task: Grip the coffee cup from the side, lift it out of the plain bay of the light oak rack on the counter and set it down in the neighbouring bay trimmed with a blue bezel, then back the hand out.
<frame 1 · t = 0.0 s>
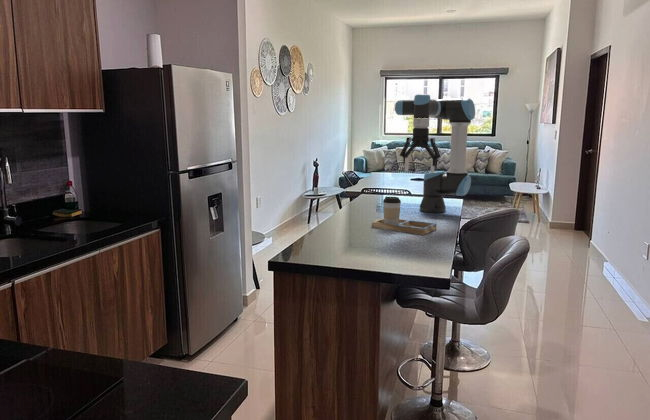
hand: (419, 171, 236), 28 cm above the countertop, tool pointing down, fingers open, 13 cm apart
coffee cup: (391, 226, 245), resting in oak rack
oak rack: (403, 228, 241), on the countertop
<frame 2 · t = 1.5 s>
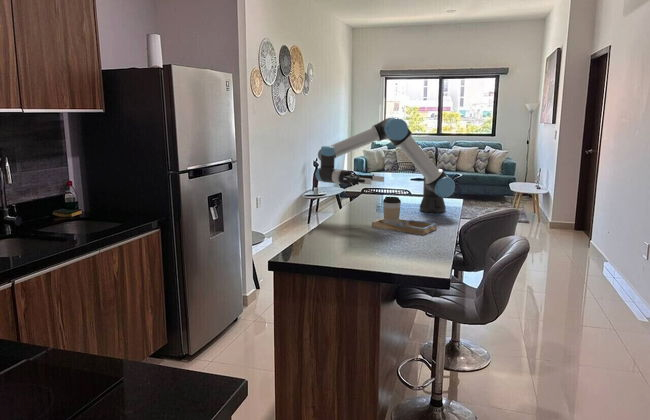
hand: (377, 180, 246), 23 cm above the countertop, tool horizontal, fingers open, 13 cm apart
nothing on the countertop moved.
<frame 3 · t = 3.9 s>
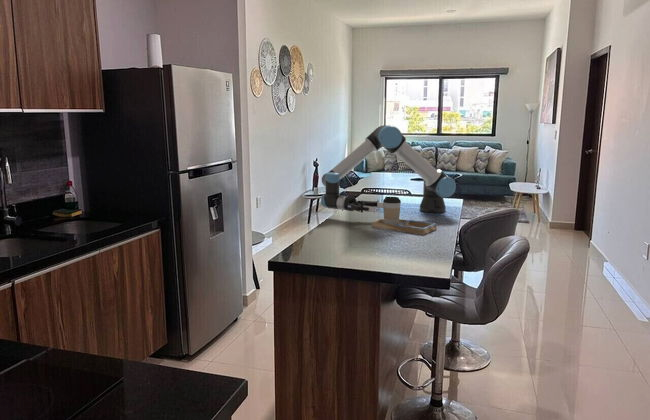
hand: (382, 207, 246), 9 cm above the countertop, tool horizontal, fingers open, 13 cm apart
nothing on the countertop moved.
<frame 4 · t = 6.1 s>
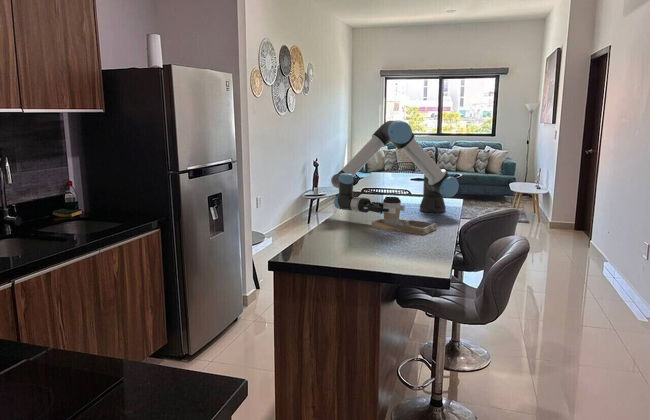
hand: (399, 209, 241), 9 cm above the countertop, tool horizontal, fingers closed on coffee cup, 9 cm apart
coffee cup: (391, 226, 245), resting in oak rack, touching gripper
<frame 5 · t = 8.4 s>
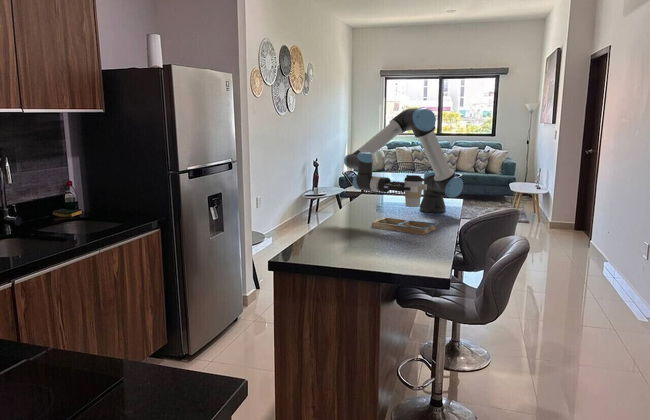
hand: (421, 188, 231), 21 cm above the countertop, tool horizontal, fingers closed on coffee cup, 9 cm apart
coffee cup: (412, 206, 236), point 12 cm above the countertop, touching gripper
when the fingers open (10 cm above the countertop, at t = 11.1 s): coffee cup drops 1 cm, resting on oak rack.
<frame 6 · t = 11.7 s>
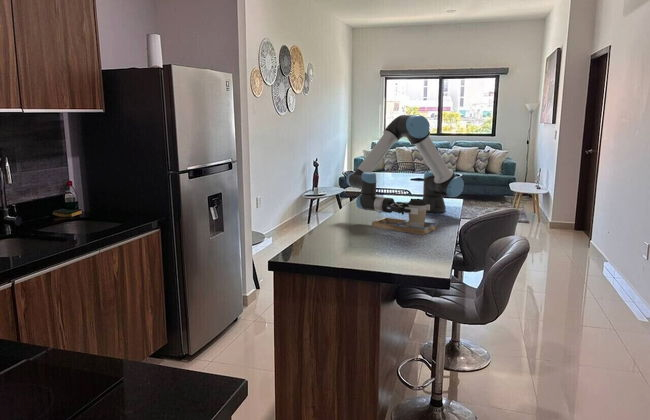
hand: (423, 209, 233), 10 cm above the countertop, tool horizontal, fingers open, 13 cm apart
coffee cup: (416, 229, 237), resting on oak rack
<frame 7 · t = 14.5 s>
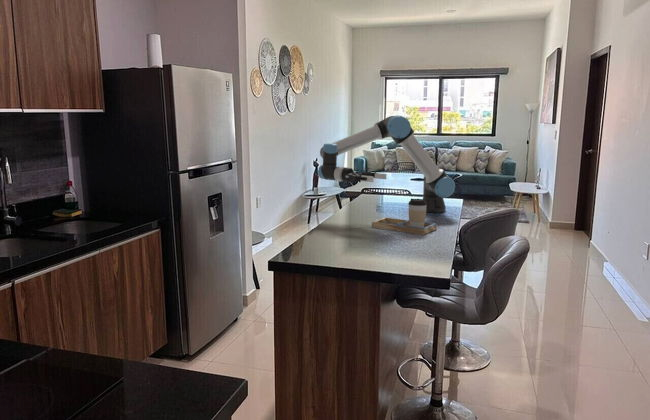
hand: (379, 178, 245), 24 cm above the countertop, tool horizontal, fingers open, 13 cm apart
nothing on the countertop moved.
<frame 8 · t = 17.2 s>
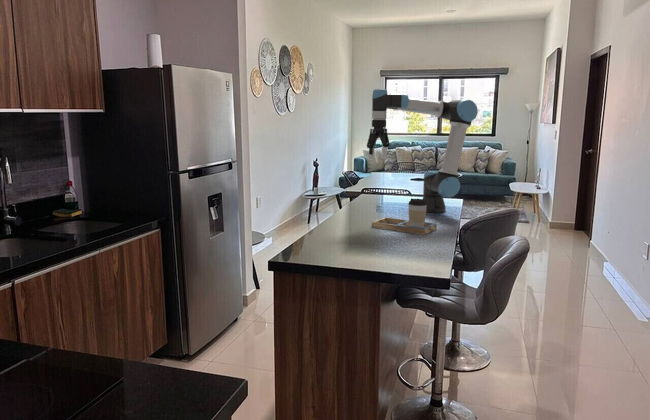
hand: (378, 160, 259), 32 cm above the countertop, tool pointing down, fingers open, 13 cm apart
nothing on the countertop moved.
at the end: coffee cup inside the target area (0.0 cm from its centre), resting on oak rack; coffee cup tilted 0°; the gripper is holding nothing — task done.
